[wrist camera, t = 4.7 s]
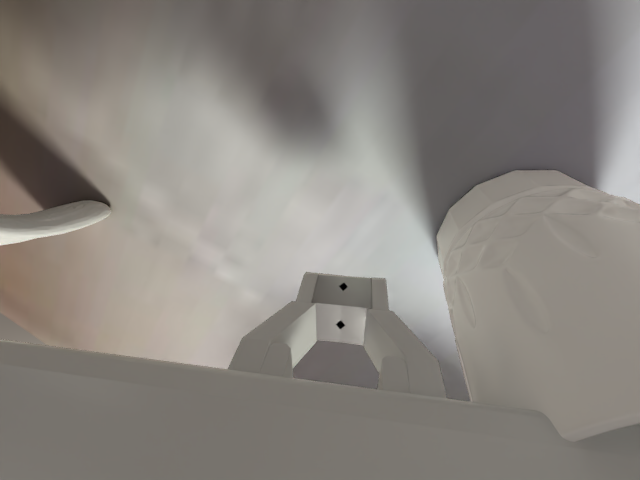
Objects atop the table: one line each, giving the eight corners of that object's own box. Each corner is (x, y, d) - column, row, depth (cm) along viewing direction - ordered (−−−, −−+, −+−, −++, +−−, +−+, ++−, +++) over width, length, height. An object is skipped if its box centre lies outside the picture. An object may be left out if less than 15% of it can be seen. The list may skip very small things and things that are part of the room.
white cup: (449, 311, 17) (528, 563, 8) (399, 200, 13) (450, 427, 5) (616, 271, 14) (999, 596, 5) (604, 116, 11) (1504, 327, 2)
